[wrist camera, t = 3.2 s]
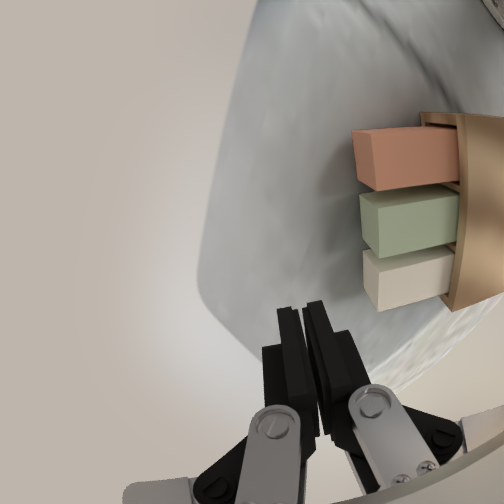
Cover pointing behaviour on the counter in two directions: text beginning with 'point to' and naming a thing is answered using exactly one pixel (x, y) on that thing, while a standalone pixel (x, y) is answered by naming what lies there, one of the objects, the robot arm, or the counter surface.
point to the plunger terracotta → (406, 156)
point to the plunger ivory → (407, 276)
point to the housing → (476, 207)
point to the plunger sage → (409, 218)
